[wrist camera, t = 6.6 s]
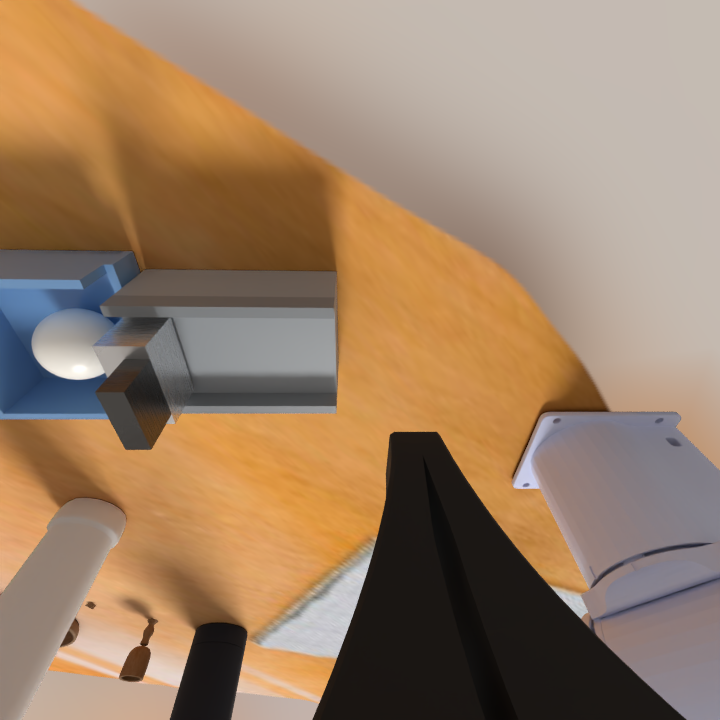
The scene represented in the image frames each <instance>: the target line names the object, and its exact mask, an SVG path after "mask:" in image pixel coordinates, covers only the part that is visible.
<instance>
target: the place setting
mask: <svg viewBox="0 0 720 720" xmlns="http://www.w3.org/2000/svg"><path fill="white" fill-rule="evenodd" d="M86 606H87V607H89V608H91V609H93V608H94V607H95V606H96V605H95V604H93V603H92V602H89V603H88V604H87V605H86ZM157 622H158V621H157V620H155V619H149V620H148V623H149V625H148V626H147V627H146V629H145V630H144V633H143V639H142V641H141V643H140V645H142V646H138V647H135V648H134V649H133V650H132V651H131V652H130V653H129V655H128V657H127V659H126V661H125V663H124V666H123V668H122V671H121V673H120V676H119V679H120V680H123V681H128V682H139V681H142V680H143V677H144V675H145V672H146V669H147V666H148V663H149V660H150V655H151V652H150V649H149V648H147V647H145V646H147V645H148V642H149V639H150V637H151V636H152V634H153V632H154V625H155V624H156V623H157ZM78 633H79V625H78V622H77V621H76V620H75V619H74V620H73V622H72V624H71V626H70V628H69V632H67V634H66V636H65V638H64V640H63V642H62V644H61V646H60V647H64V646H67V645H70V644H72V643H73V642H74V641H75V640H76V638H77V635H78Z"/></svg>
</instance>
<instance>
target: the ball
mask: <svg viewBox="0 0 720 720" xmlns="http://www.w3.org/2000/svg"><path fill="white" fill-rule="evenodd" d="M113 326H114V324H113V323H112V322H111V321H110V320H109V319H108V318H107V317H104V316H103V315H102V314H100V313H97V312H95V311H91V310H87V309H81V308H71V309H64V310H60V311H57V312H54V313H52V314H50V315H49V316H47V317H46V318H44V319H43V320H42V321H41V322H40V323H39V324H38V325H37V327H36V328H35V330H34V333H33V335H32V350H33V354H34V356H35V358H36V359H37V361H38V362H39V363H40V365H41V366H43V367H44V368H45V369H46V370H47V371H49V372H51V373H53V374H55V375H57V376H59V377H62V378H67V379H74V380H83V379H90V378H94V377H97V376H100V375H102V374H104V373H105V371H104V369H103V367H102V365H101V363H100V361H99V359H98V357H97V355H96V353H95V351H94V349H93V347H92V346H93V345H94V344H95V343H96V342H97V341H98V340H99V339H100V338H101V337H103V336H104V335H105V334H106V333H107V332H108V331H109V330H110V329H111V328H112V327H113Z"/></svg>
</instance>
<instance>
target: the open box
mask: <svg viewBox="0 0 720 720" xmlns="http://www.w3.org/2000/svg"><path fill="white" fill-rule="evenodd" d="M139 274H140V270H139V267H138V264H137V262H136V259H135V256H134V253H133V251H82V250H5V249H0V419H109V418H108V416H107V414H106V412H105V410H104V409H103V407H102V405H101V403H100V401H99V399H98V398H97V396H96V394H95V391H96V390H97V389H98V388H99V387H100V386H101V385H102V384H103V382H104V381H105V380H106V379H107V378H108V377H107V375H106V373H104V374H102V375H100V376H97V377H94V378H90V379H83V380H74V379H67V378H62V377H59V376H57V375H55V374H53V373H51V372H49V371H47V370H46V369H45V368H44V367H43V366H41V365H40V363H39V362H38V361H37V359H36V358H35V356H34V354H33V350H32V335H33V333H34V330H35V328H36V327H37V325H38V324H39V323H40V322H41V321H42V320H43V319H44V318H46V317H47V316H49V315H50V314H52V313H54V312H57V311H60V310H64V309H71V308H81V309H87V310H91V311H95V312H97V313H100V314H102V315H103V313H102V311H101V309H100V307H99V306H100V305H101V304H102V303H104V302H105V301H106V300H107V299H109V298H110V297H111V296H112V295H114V294H115V293H116V292H117V291H119V290H120V289H121V288H122V287H124V286H125V285H126V284H127V283H129V282H130V281H131V280H132V279H134V278H135V277H136V276H137V275H139ZM107 318H108V319H109V320H110V321H111V322H112V323H113V324H114V325H115V324H116V323H118V322H119V321H120V320H121V319H122V317H107Z"/></svg>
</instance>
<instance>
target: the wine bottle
mask: <svg viewBox="0 0 720 720" xmlns="http://www.w3.org/2000/svg"><path fill="white" fill-rule="evenodd" d="M246 640H247V631H246V630H245V629H243V628H241V627H239V626H236V625H233V624H226V623H211V624H206V625H202V626H200V627H198V628H197V630H196V632H195V636H194V639H193V642H192V646H191V649H190V653H189V656H188V659H187V663H186V666H185V670H184V673H183V676H182V680H181V683H180V687H179V690H178V694H177V697H176V700H175V704H174V707H173V710H172V714H171V718H170V720H231V717H232V712H233V707H234V701H235V696H236V691H237V686H238V681H239V676H240V671H241V665H242V660H243V655H244V650H245V645H246Z"/></svg>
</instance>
